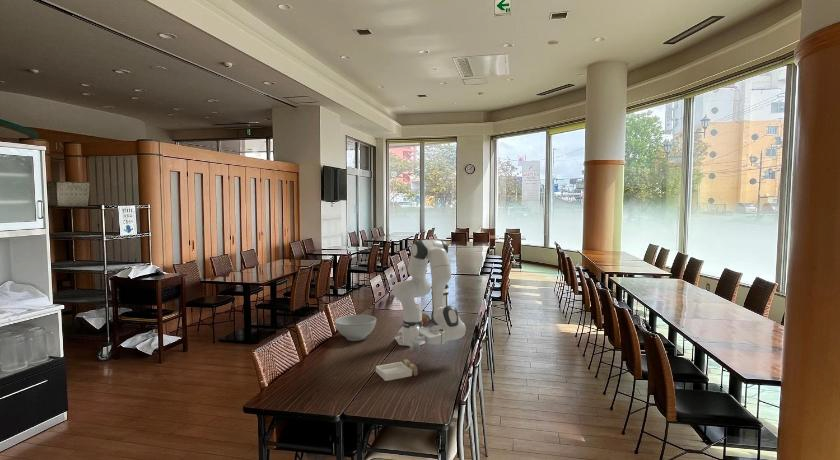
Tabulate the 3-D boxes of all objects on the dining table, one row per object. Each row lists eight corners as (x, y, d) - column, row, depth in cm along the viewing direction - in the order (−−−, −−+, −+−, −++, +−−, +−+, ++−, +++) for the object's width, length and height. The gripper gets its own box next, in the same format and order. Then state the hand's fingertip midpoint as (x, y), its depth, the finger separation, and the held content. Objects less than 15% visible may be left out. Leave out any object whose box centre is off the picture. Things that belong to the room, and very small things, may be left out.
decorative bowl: (382, 333, 307) (382, 315, 307) (367, 345, 282) (367, 325, 281) (345, 331, 315) (345, 313, 314) (327, 343, 289) (327, 323, 288)
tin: (409, 327, 321) (409, 315, 320) (408, 326, 324) (408, 314, 323) (430, 325, 325) (429, 313, 324) (428, 324, 328) (428, 312, 327)
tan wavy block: (403, 366, 242) (402, 359, 242) (406, 366, 243) (406, 358, 243) (413, 375, 230) (413, 367, 230) (417, 374, 231) (417, 367, 230)
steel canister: (408, 349, 238) (407, 326, 238) (417, 347, 240) (416, 325, 240) (412, 352, 234) (411, 328, 233) (421, 350, 236) (420, 327, 235)
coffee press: (425, 320, 338) (424, 280, 336) (440, 316, 349) (439, 277, 347) (442, 324, 326) (441, 282, 324) (457, 320, 337) (456, 279, 335)
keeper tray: (375, 371, 236) (375, 366, 236) (401, 367, 242) (401, 361, 242) (385, 381, 224) (385, 375, 223) (412, 375, 229) (411, 370, 229)
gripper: (428, 323, 251) (404, 327, 246) (446, 332, 233) (421, 336, 227) (428, 334, 252) (405, 338, 246) (446, 344, 233) (421, 349, 227)
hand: (413, 337), depth 236 cm, fingers closed on steel canister, 5 cm apart
